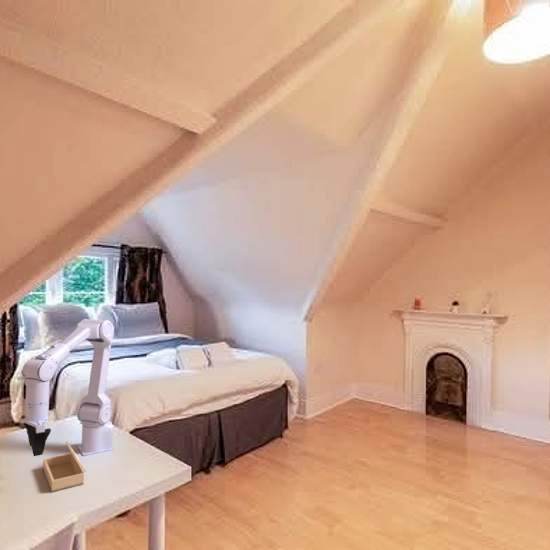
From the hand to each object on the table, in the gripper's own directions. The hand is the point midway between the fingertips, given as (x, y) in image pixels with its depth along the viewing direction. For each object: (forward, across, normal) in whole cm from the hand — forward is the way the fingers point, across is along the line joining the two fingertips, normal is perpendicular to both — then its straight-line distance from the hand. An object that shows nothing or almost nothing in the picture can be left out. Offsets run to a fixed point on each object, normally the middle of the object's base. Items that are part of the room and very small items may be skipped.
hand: (36, 450), depth 119 cm
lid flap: (+4, 0, +10) cm, 11 cm away
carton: (+9, 0, +7) cm, 12 cm away
